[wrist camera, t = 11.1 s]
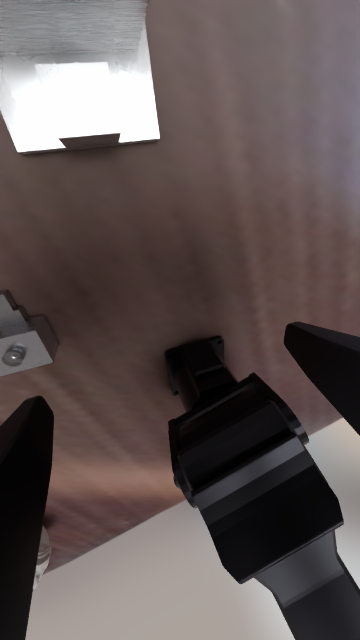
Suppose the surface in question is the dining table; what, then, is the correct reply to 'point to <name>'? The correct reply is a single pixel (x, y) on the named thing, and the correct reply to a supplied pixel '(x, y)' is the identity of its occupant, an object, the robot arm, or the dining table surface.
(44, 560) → the grey stone carving
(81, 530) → the dining table surface
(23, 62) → the peg stand
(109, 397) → the dining table surface
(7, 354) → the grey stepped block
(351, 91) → the dining table surface
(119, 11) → the grey square frame
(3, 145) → the dining table surface
